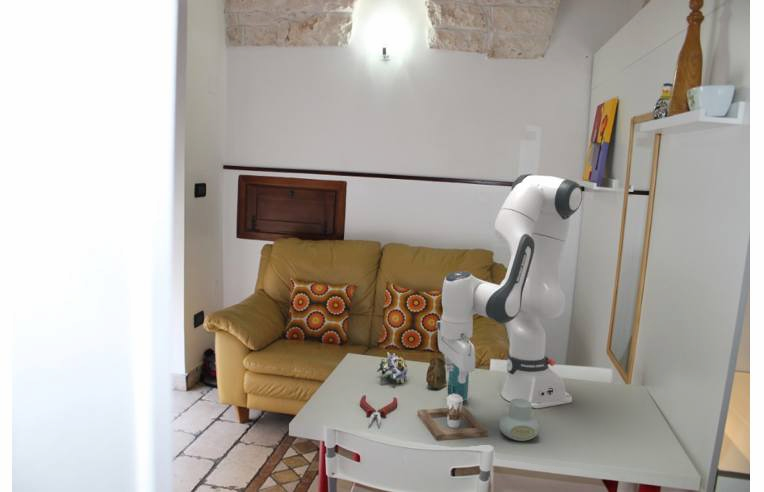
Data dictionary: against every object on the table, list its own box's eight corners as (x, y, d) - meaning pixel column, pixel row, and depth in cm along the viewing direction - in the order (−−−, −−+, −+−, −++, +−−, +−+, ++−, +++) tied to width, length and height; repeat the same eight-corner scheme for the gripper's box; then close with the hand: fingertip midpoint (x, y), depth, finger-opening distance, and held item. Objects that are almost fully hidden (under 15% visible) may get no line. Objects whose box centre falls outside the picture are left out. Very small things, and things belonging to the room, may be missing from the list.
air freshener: (533, 430, 176) (536, 397, 175) (541, 443, 168) (544, 408, 166) (495, 429, 176) (498, 395, 174) (501, 442, 168) (504, 407, 166)
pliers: (353, 428, 174) (353, 420, 173) (361, 401, 193) (361, 393, 193) (394, 432, 173) (394, 423, 172) (397, 404, 193) (398, 396, 192)
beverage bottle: (470, 400, 196) (473, 339, 193) (463, 407, 190) (467, 344, 187) (450, 396, 199) (454, 336, 196) (443, 403, 193) (447, 341, 190)
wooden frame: (464, 411, 187) (464, 406, 187) (487, 436, 171) (488, 431, 171) (417, 414, 184) (417, 409, 183) (436, 440, 167) (436, 435, 167)
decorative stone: (426, 356, 205) (435, 356, 203) (444, 356, 212) (452, 357, 209) (424, 388, 204) (433, 389, 202) (442, 387, 211) (450, 388, 208)
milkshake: (442, 421, 179) (443, 388, 178) (460, 422, 179) (462, 389, 178) (443, 428, 175) (444, 394, 173) (462, 429, 175) (464, 395, 173)
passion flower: (400, 398, 210) (400, 378, 202) (371, 387, 213) (370, 367, 205) (412, 372, 217) (413, 352, 209) (384, 362, 220) (383, 342, 212)
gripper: (482, 339, 164) (480, 389, 166) (454, 319, 184) (453, 363, 186) (459, 341, 163) (458, 391, 165) (434, 320, 182) (433, 365, 184)
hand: (455, 376), depth 176 cm, fingers open, 8 cm apart
